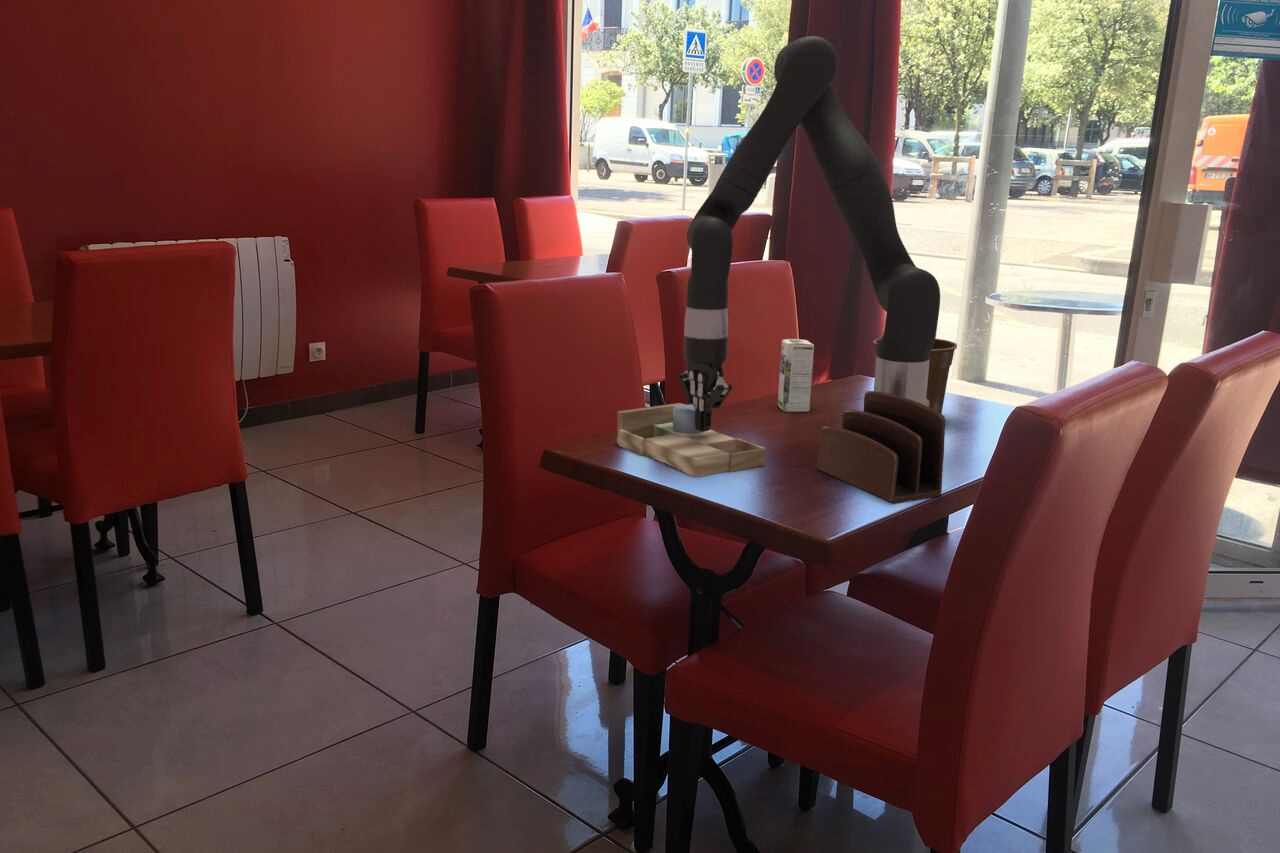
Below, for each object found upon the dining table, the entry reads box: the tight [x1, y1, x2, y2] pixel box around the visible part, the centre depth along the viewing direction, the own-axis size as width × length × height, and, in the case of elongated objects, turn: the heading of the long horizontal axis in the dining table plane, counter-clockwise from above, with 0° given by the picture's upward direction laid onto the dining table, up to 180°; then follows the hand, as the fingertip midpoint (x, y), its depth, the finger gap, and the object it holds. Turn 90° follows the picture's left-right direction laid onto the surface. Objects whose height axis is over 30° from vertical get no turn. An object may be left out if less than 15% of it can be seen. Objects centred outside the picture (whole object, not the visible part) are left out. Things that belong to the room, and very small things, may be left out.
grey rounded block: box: [673, 404, 705, 434], centre depth 188 cm, size 6×6×4 cm
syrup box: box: [777, 338, 815, 413], centre depth 217 cm, size 6×6×14 cm
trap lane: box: [616, 402, 766, 478], centre depth 183 cm, size 25×15×6 cm, turn 34°
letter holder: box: [816, 390, 946, 504], centre depth 168 cm, size 10×20×14 cm, turn 26°
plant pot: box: [872, 337, 958, 415], centre depth 209 cm, size 16×16×16 cm
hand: (702, 430), depth 183 cm, fingers closed
